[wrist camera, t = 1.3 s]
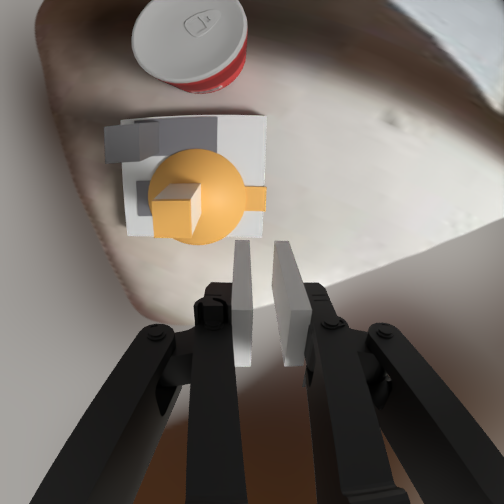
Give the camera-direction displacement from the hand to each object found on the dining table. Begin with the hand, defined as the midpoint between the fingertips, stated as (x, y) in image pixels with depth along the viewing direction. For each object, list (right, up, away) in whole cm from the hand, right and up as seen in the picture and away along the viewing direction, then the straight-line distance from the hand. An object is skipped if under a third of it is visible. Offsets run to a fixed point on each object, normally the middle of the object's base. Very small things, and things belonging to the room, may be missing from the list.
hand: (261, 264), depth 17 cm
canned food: (-5, +20, +10) cm, 22 cm away
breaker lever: (-7, +6, +13) cm, 16 cm away
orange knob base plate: (-6, +8, +14) cm, 18 cm away
